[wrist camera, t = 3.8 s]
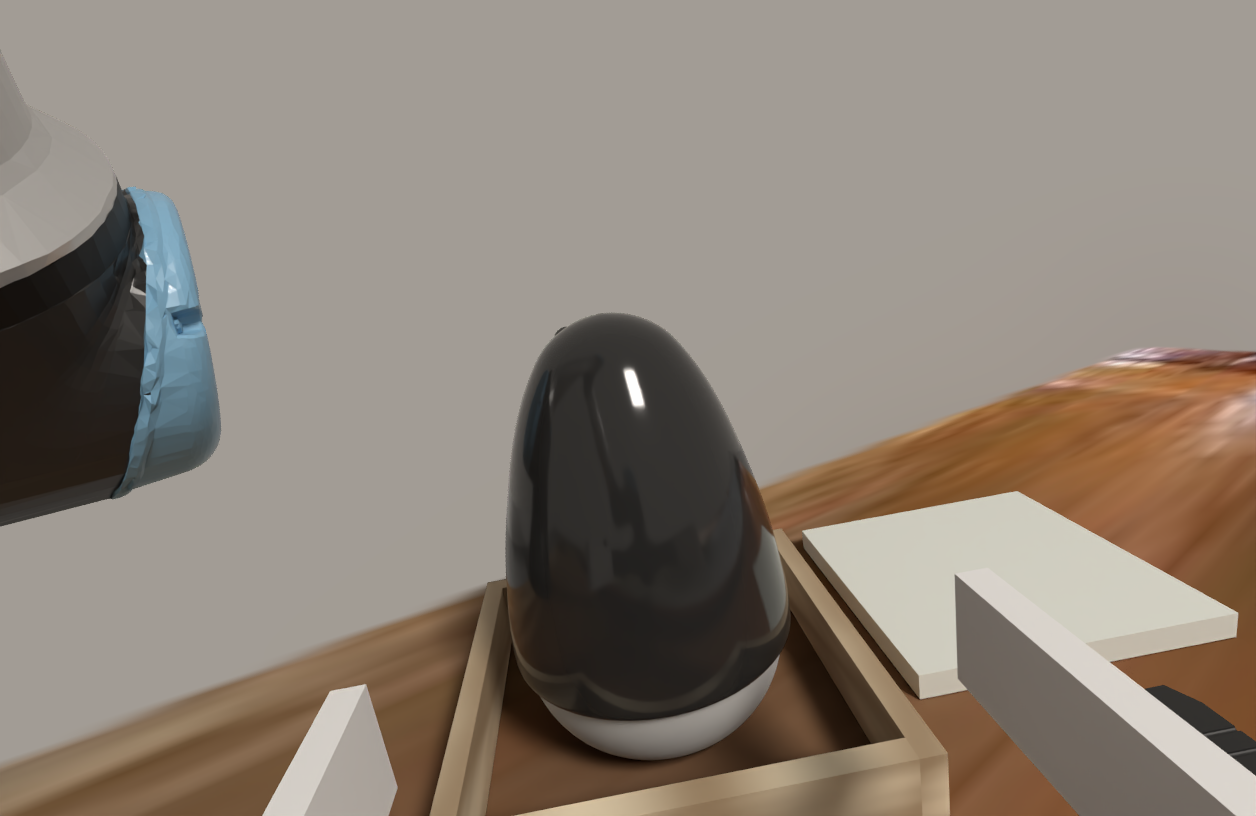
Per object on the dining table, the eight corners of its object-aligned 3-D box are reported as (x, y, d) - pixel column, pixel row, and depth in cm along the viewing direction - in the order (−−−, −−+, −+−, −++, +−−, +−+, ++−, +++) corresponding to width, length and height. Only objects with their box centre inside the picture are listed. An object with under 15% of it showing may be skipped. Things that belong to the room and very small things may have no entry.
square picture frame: (440, 930, 18) (418, 860, 17) (498, 627, 32) (487, 582, 31) (950, 825, 18) (947, 753, 18) (785, 573, 32) (781, 528, 32)
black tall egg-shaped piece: (715, 597, 31) (673, 285, 28) (860, 736, 22) (826, 288, 18) (511, 671, 28) (430, 331, 25) (576, 871, 19) (461, 365, 15)
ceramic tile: (919, 699, 23) (918, 675, 23) (803, 547, 35) (801, 530, 34) (1236, 636, 24) (1238, 613, 23) (1017, 508, 35) (1017, 491, 35)
